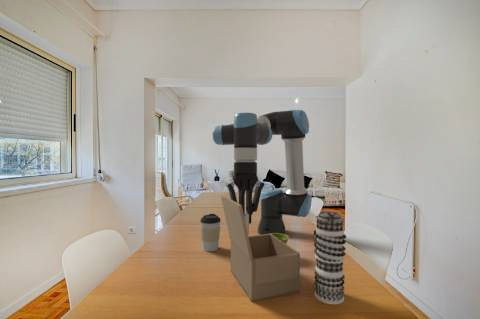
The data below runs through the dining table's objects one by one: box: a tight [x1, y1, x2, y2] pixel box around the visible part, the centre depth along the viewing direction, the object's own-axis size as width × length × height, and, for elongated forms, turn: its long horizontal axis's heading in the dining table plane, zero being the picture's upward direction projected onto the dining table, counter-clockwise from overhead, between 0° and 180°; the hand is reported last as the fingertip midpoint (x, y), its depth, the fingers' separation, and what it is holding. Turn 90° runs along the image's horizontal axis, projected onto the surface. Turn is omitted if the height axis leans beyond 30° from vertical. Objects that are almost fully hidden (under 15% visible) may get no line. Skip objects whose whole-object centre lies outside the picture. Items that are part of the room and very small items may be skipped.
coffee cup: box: [200, 213, 221, 252], centre depth 113 cm, size 9×9×15 cm
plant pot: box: [270, 233, 290, 245], centre depth 104 cm, size 9×9×9 cm
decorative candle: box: [313, 210, 347, 305], centre depth 75 cm, size 9×9×25 cm
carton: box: [230, 234, 301, 302], centre depth 84 cm, size 16×21×12 cm
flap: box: [220, 194, 253, 259], centre depth 81 cm, size 16×20×1 cm
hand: (245, 233), depth 82 cm, fingers closed
